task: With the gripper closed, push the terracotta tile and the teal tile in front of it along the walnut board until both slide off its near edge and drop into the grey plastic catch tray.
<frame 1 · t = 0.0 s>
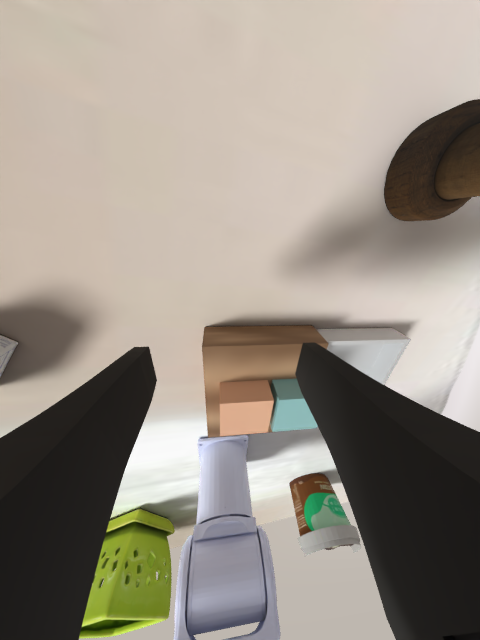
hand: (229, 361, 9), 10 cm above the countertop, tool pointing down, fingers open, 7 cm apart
food container: (313, 476, 40), on the countertop
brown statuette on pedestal: (419, 174, 15), on the countertop
flower pot: (138, 518, 41), on the countertop
terracotta tile: (242, 397, 20), point 3 cm above the countertop, touching walnut board
catch tray: (338, 369, 25), on the countertop
teal tile: (290, 394, 21), point 3 cm above the countertop, touching walnut board
walnut board: (254, 373, 23), on the countertop
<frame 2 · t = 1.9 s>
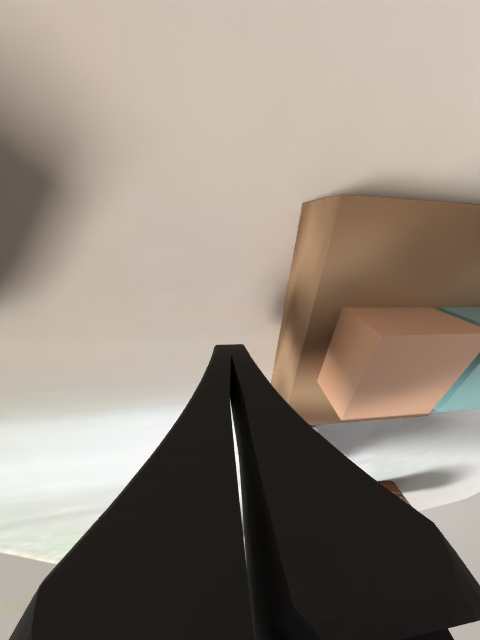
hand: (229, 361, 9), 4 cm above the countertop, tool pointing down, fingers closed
terracotta tile: (369, 347, 10), point 3 cm above the countertop, touching walnut board
teal tile: (452, 345, 11), point 3 cm above the countertop, touching walnut board
walnut board: (359, 318, 14), on the countertop
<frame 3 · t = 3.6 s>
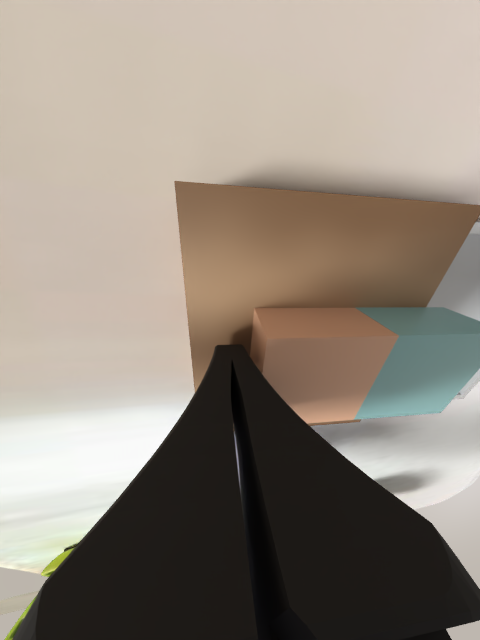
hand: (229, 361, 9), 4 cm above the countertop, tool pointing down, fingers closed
flower pot: (110, 544, 31), on the countertop
terracotta tile: (296, 350, 10), point 4 cm above the countertop, touching gripper, teal tile
catch tray: (424, 318, 14), on the countertop
teal tile: (380, 347, 10), point 4 cm above the countertop, touching terracotta tile, walnut board
walnut board: (284, 319, 13), on the countertop
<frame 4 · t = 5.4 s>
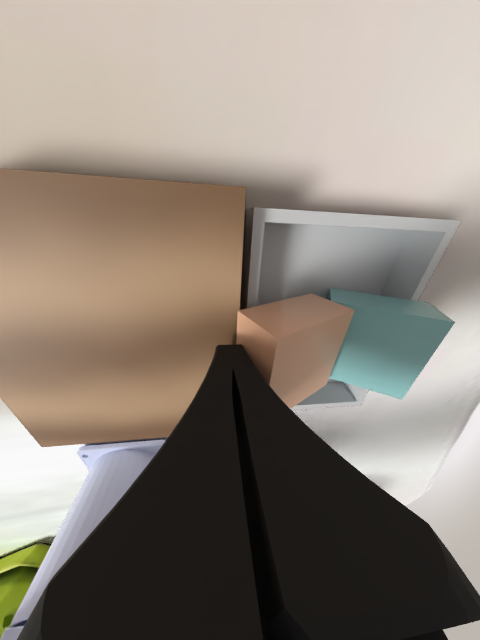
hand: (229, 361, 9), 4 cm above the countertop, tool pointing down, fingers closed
flower pot: (47, 553, 30), on the countertop
terracotta tile: (272, 341, 10), point 3 cm above the countertop, tilted 27°, touching gripper, teal tile
catch tray: (307, 319, 13), on the countertop
teal tile: (367, 352, 10), point 4 cm above the countertop, tilted 151°, touching catch tray, terracotta tile
walnut board: (140, 320, 12), on the countertop
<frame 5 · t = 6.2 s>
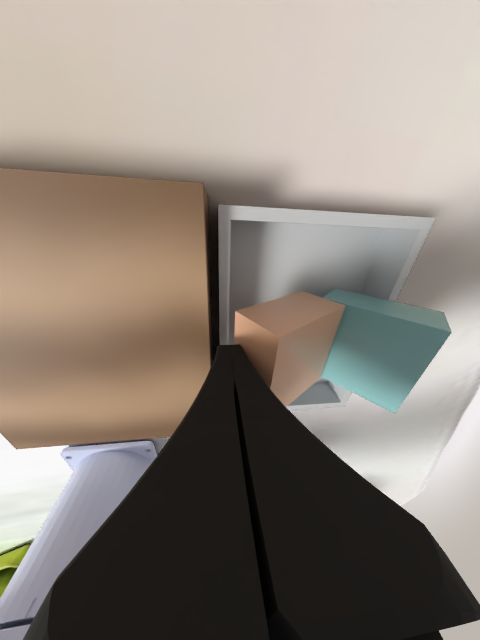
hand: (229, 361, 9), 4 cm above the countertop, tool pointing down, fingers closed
flower pot: (38, 554, 30), on the countertop
terracotta tile: (268, 339, 11), point 3 cm above the countertop, tilted 33°, touching gripper, teal tile
catch tray: (288, 319, 13), on the countertop
teal tile: (357, 354, 10), point 4 cm above the countertop, tilted 134°, touching catch tray, terracotta tile
walnut board: (117, 321, 12), on the countertop
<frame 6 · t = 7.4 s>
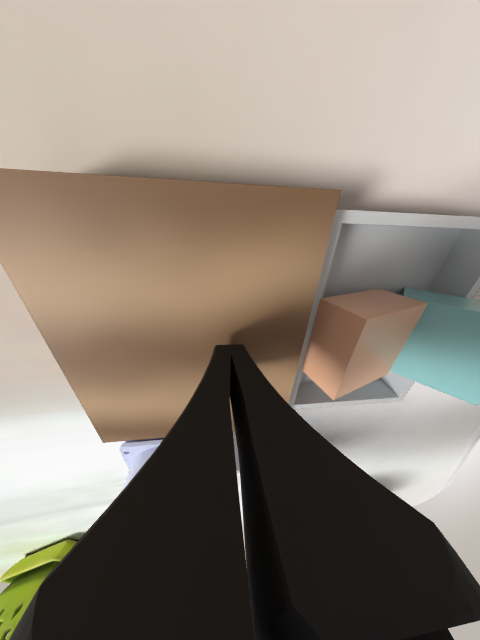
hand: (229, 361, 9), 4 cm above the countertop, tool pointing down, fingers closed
flower pot: (74, 549, 30), on the countertop
terracotta tile: (339, 330, 12), point 2 cm above the countertop, tilted 19°, touching catch tray, teal tile
catch tray: (352, 317, 13), on the countertop
teal tile: (439, 349, 10), point 4 cm above the countertop, tilted 134°, touching catch tray, terracotta tile
walnut board: (195, 320, 12), on the countertop
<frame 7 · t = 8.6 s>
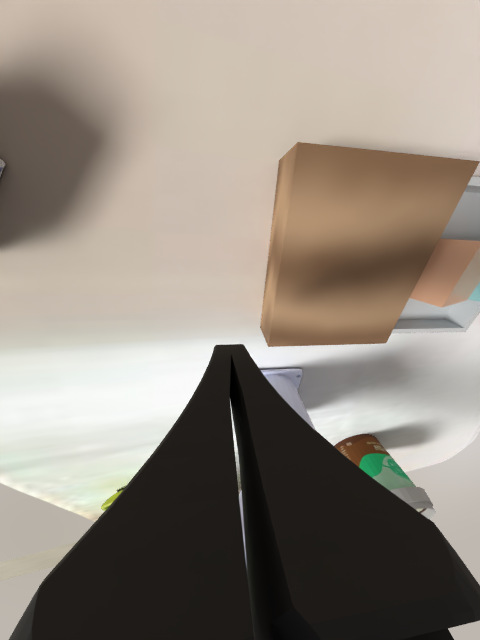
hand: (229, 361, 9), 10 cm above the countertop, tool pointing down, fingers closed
food container: (361, 439, 34), on the countertop
terracotta tile: (434, 268, 17), point 2 cm above the countertop, tilted 19°, touching catch tray, teal tile
catch tray: (435, 265, 18), on the countertop
walnut board: (330, 262, 17), on the countertop
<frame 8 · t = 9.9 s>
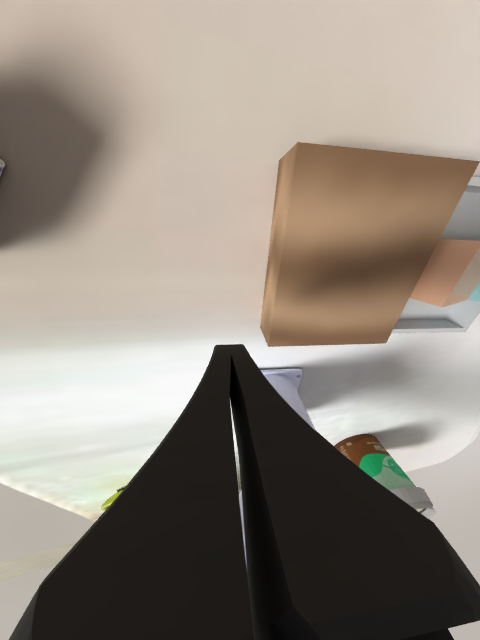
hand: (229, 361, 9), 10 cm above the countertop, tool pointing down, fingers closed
food container: (361, 439, 34), on the countertop
terracotta tile: (434, 268, 17), point 2 cm above the countertop, tilted 19°, touching catch tray, teal tile
catch tray: (435, 265, 18), on the countertop
walnut board: (330, 262, 17), on the countertop
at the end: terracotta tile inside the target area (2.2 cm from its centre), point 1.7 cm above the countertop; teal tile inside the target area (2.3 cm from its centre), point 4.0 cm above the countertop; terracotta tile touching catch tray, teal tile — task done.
